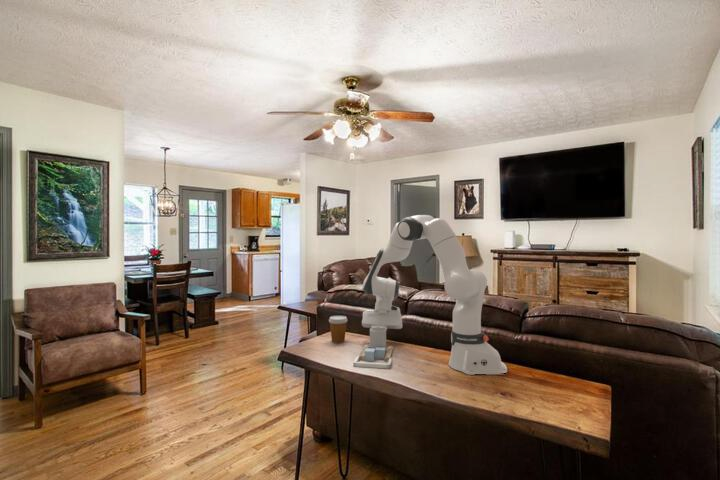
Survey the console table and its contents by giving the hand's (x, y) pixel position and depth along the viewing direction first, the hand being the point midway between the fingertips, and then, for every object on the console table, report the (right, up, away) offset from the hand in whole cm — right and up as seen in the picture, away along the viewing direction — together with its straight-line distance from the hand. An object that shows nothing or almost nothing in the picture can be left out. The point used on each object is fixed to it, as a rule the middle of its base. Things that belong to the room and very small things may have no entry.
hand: (380, 335), depth 175 cm
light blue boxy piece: (-1, -5, -17) cm, 18 cm away
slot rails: (-3, -5, -13) cm, 15 cm away
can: (-2, -5, -10) cm, 11 cm away
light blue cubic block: (-6, -5, -19) cm, 20 cm away
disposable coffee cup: (-21, -5, +7) cm, 23 cm away
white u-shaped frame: (-5, -5, -25) cm, 26 cm away
